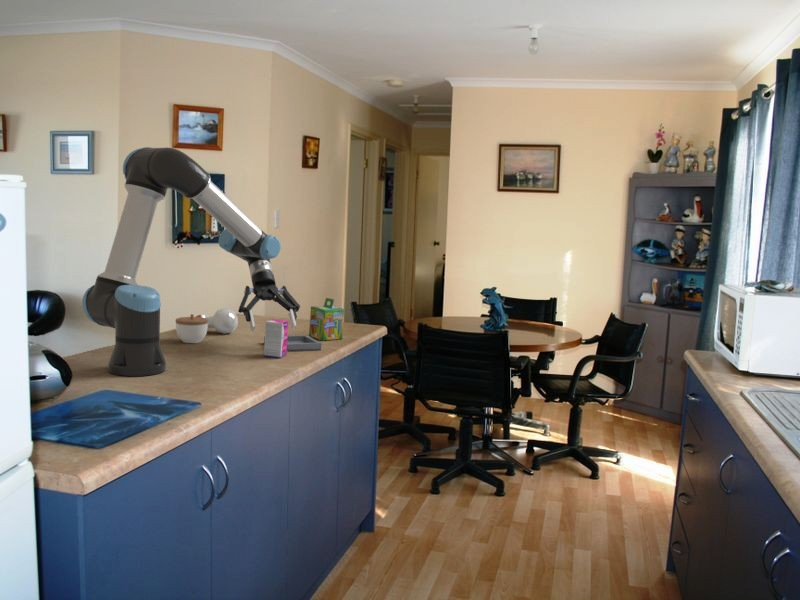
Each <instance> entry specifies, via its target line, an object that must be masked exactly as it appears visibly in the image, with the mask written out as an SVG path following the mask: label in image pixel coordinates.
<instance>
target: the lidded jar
mask: <svg viewBox="0 0 800 600" xmlns="http://www.w3.org/2000/svg"><path fill="white" fill-rule="evenodd" d="M175 329H176V331H175V332H176V334H177V336H178V338H179V339H180V341H181V342H182V343H185V344H198V343H199V344H200V343H201V342H202V340H203V339H205V337H206V336H207V333H208V329H209V328H208V319H206V318H202V317H196V316H194V314H193V313H191V314H190V316H183V317H182V316H181V317H177V318H175Z"/></svg>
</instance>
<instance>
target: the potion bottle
mask: <svg viewBox="0 0 800 600" xmlns="http://www.w3.org/2000/svg"><path fill="white" fill-rule="evenodd" d="M195 317H202V318H206V319H208V329H215V331H216V332H217V333H220V334H222V335H223V334H224V335H227V334H231V333H234V331H235V329H237V327H238V326H239V318H238V317H239V316H237V314H236V312H235V311H234V310H232V309H231V308H228V307H225V308H220V309H217V310H216V312H215V313H214V314H213V315H210V316H209V315H208V314H207V313H203V314H198V315H196V316H195Z"/></svg>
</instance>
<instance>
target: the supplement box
mask: <svg viewBox="0 0 800 600" xmlns="http://www.w3.org/2000/svg"><path fill="white" fill-rule="evenodd" d="M288 331H289V320H281V319H269V320H266V321H265V331H264V336H265V343H264V348H263V350H264V351H263V357H264V358H270V357H271V358H272V359H281V358H283V357H286V356H287V353H288V352H287V336H289V335H288V333H289V332H288Z"/></svg>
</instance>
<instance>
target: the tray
mask: <svg viewBox="0 0 800 600" xmlns="http://www.w3.org/2000/svg"><path fill="white" fill-rule="evenodd" d="M263 338H264V340H263V343H264V344H265V335H264V337H263ZM287 351H288V352H303V351H304V352H309V351H311V352H312V351H322V342H320V341H318V339H315V338H312V337H309V335H307V334H305V335H303V334H299V335H297V334H296V335H295V334H294V335H287Z"/></svg>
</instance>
